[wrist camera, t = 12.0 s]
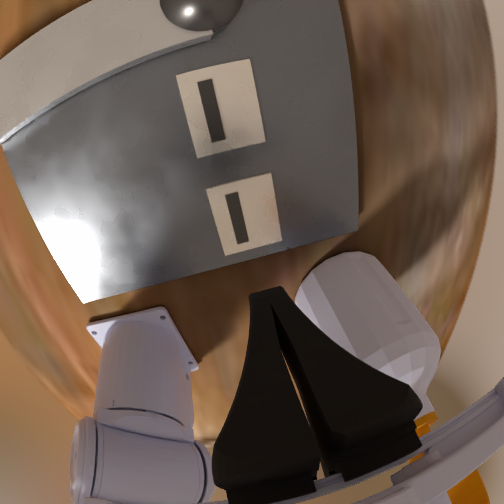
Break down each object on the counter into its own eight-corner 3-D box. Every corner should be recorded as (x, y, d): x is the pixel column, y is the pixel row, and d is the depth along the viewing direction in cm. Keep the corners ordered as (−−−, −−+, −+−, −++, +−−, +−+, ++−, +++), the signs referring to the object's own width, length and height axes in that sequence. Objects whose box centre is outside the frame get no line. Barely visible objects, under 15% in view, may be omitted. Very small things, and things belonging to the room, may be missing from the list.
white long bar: (-18, 159, 12) (-44, 176, 9) (-36, 110, 10) (-64, 121, 7) (243, 32, 12) (254, 23, 10) (224, -28, 10) (232, -47, 7)
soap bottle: (349, 230, 23) (530, 520, 3) (394, 277, 27) (523, 485, 7) (272, 302, 26) (371, 589, 6) (330, 333, 30) (421, 542, 10)
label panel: (351, 222, 22) (360, 232, 21) (86, 293, 21) (82, 305, 20) (325, -17, 12) (335, -22, 11) (-6, 84, 11) (-18, 87, 9)
